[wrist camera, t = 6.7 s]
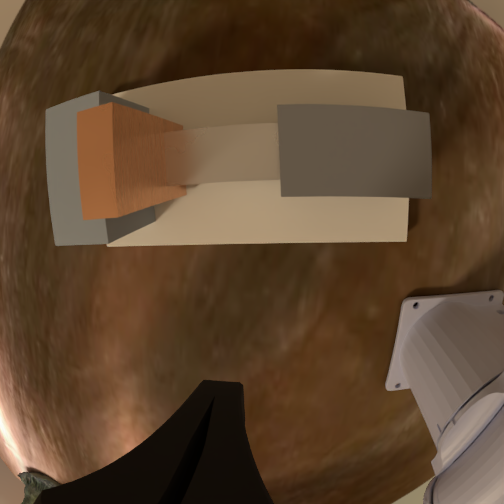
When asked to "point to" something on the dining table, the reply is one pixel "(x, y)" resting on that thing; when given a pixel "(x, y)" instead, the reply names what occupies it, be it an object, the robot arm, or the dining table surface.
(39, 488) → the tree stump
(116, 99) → the socket block
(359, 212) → the cream rectangular panel
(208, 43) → the dining table surface
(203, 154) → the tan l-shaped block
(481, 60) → the dining table surface
